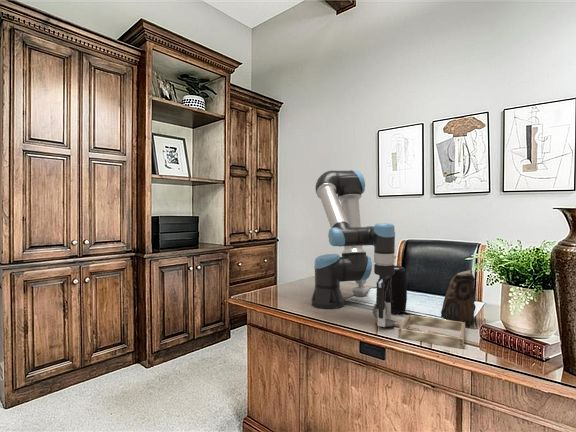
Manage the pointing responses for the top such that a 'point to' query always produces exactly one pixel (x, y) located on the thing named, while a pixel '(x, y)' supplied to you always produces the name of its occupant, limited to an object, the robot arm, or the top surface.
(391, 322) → the pocket watch
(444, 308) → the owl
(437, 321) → the box
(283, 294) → the top surface
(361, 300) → the top surface
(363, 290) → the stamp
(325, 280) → the robot arm
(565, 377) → the top surface
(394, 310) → the portable speaker
